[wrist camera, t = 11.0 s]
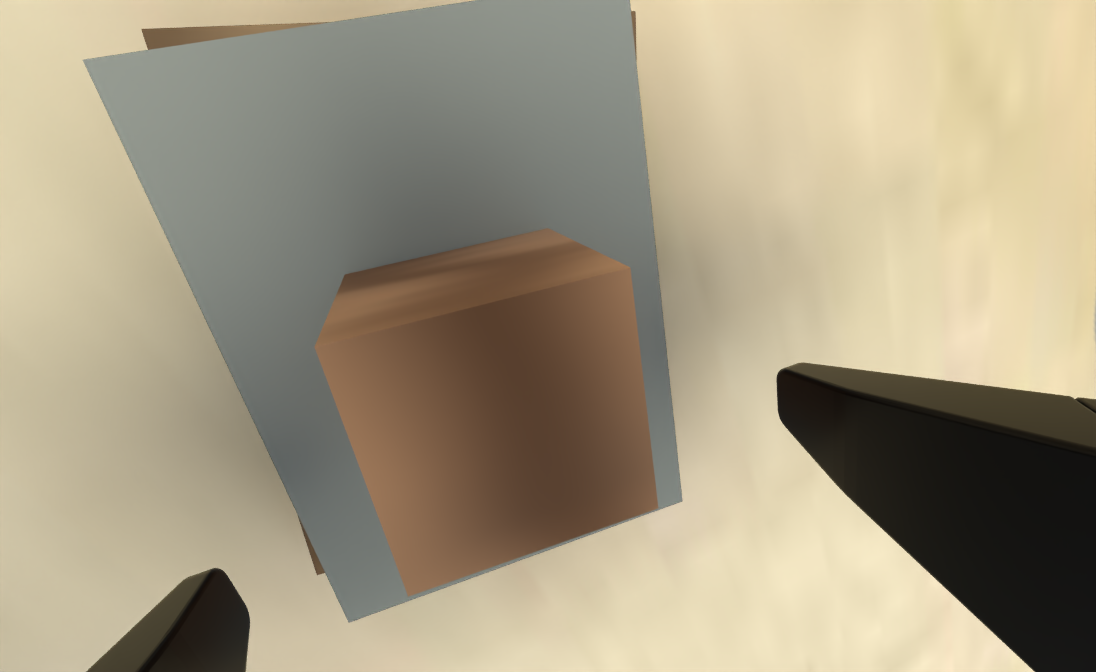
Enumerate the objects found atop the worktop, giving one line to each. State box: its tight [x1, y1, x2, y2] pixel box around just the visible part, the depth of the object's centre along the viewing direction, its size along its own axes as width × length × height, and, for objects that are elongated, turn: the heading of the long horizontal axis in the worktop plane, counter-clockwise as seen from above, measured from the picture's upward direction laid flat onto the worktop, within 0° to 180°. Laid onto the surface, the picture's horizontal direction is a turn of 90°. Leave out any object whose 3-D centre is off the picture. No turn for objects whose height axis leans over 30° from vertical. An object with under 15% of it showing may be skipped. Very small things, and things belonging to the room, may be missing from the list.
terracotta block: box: [315, 228, 658, 597], centre depth 11 cm, size 5×5×5 cm
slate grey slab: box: [83, 0, 682, 622], centre depth 15 cm, size 11×15×2 cm
